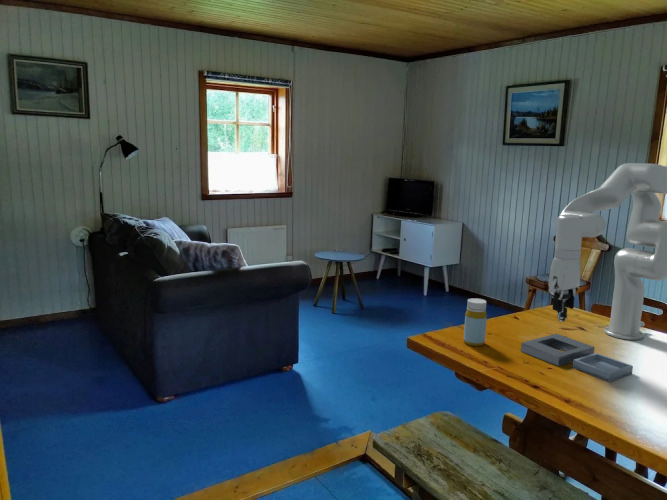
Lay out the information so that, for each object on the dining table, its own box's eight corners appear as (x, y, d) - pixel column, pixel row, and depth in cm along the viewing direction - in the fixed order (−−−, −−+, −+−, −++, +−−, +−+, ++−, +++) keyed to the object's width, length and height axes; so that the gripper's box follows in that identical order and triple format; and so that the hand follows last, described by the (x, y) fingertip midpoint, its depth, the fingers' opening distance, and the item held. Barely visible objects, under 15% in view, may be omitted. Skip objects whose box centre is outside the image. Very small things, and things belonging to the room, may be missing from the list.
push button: (570, 324, 164) (570, 293, 162) (551, 322, 166) (551, 292, 165) (571, 317, 170) (571, 287, 168) (554, 316, 172) (553, 287, 170)
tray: (595, 360, 164) (596, 352, 164) (632, 373, 155) (633, 365, 154) (572, 367, 159) (573, 359, 158) (609, 381, 149) (610, 373, 148)
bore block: (555, 341, 180) (556, 333, 180) (593, 355, 168) (594, 346, 168) (520, 351, 171) (521, 342, 170) (558, 366, 159) (559, 357, 159)
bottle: (477, 348, 173) (480, 304, 170) (459, 342, 178) (462, 300, 175) (488, 343, 178) (491, 301, 175) (471, 337, 183) (474, 296, 180)
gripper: (573, 248, 171) (569, 301, 175) (539, 255, 163) (535, 310, 166) (594, 252, 165) (589, 307, 168) (560, 259, 156) (556, 317, 160)
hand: (563, 308), depth 167 cm, fingers closed on push button, 5 cm apart
